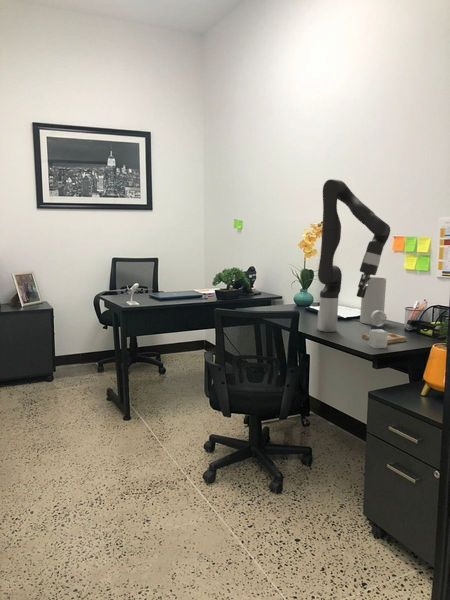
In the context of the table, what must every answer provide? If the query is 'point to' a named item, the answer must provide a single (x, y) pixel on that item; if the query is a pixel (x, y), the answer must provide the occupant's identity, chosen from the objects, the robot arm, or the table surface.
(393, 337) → the tray
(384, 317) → the watch
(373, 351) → the table surface
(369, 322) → the cylinder vase
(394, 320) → the table surface
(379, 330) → the skincare box
